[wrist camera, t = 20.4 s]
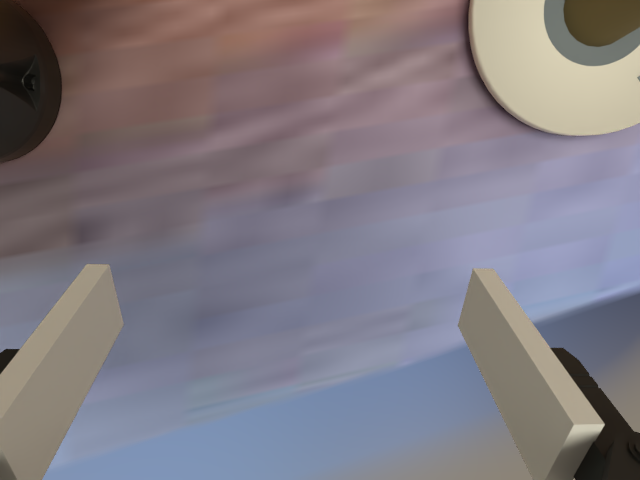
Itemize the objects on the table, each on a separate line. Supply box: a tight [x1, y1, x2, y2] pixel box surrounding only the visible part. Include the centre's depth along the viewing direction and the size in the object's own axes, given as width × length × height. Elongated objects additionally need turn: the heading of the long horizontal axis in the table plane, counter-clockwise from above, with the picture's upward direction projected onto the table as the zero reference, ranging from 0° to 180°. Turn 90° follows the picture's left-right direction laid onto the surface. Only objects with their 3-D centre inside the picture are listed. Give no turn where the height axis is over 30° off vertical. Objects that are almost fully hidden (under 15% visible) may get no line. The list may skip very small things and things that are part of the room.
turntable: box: [469, 0, 640, 136], centre depth 35 cm, size 20×20×2 cm
